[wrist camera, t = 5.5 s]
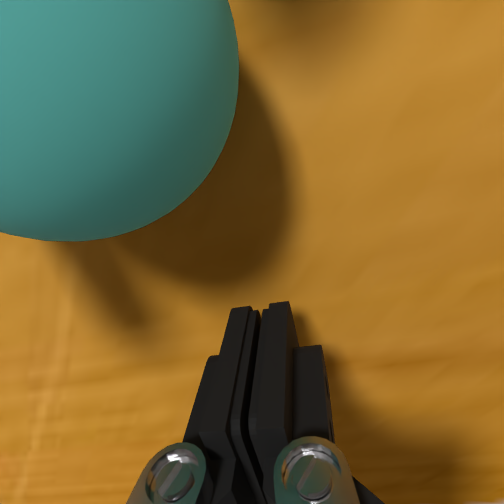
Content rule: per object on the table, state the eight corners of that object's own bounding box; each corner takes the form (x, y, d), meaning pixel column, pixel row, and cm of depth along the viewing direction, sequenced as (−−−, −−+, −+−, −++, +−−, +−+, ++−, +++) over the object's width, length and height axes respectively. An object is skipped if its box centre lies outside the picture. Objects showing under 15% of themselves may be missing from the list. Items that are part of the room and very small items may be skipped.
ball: (123, 147, 2) (324, 165, 8) (-302, -934, 2) (224, -110, 7) (-175, 333, 5) (131, 248, 10) (-372, -97, 4) (52, 50, 10)
